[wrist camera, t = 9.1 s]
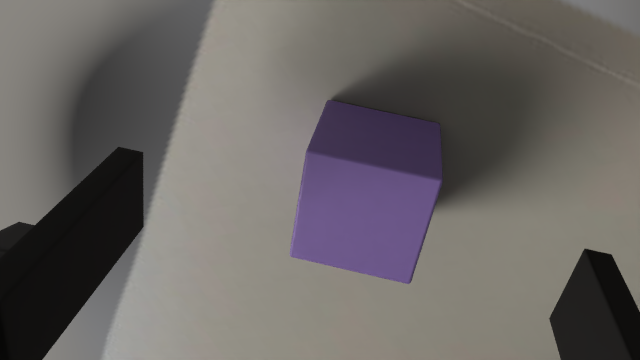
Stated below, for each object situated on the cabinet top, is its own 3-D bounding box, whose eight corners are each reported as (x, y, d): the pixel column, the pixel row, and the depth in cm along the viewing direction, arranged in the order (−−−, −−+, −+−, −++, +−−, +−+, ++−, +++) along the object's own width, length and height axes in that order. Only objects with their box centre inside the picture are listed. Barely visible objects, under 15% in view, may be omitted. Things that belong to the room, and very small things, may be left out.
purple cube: (327, 98, 19) (306, 150, 16) (441, 122, 19) (443, 180, 16) (310, 193, 22) (288, 257, 18) (413, 216, 21) (410, 285, 18)
